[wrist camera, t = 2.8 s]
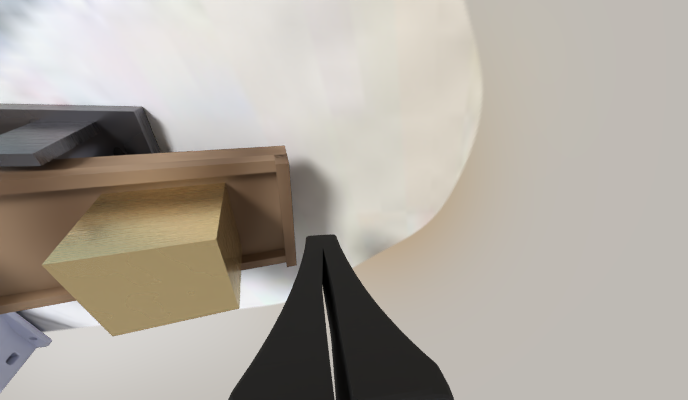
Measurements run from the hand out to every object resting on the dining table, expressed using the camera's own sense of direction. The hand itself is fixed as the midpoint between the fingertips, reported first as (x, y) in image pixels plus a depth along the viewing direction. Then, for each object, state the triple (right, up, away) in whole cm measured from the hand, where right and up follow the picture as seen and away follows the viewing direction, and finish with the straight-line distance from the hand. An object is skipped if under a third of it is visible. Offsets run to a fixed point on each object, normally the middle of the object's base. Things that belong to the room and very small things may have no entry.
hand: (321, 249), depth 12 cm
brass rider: (-7, +1, +1) cm, 7 cm away
